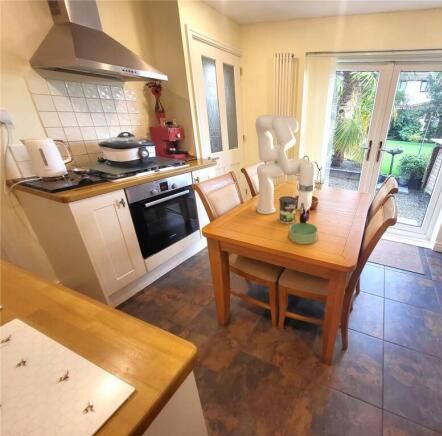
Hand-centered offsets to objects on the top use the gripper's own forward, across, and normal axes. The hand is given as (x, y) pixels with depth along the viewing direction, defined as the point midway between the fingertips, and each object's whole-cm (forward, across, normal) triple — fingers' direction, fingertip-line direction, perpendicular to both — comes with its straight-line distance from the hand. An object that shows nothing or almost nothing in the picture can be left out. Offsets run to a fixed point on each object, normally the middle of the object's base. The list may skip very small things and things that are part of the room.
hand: (304, 220), depth 123 cm
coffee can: (+11, -17, -16) cm, 26 cm away
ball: (-2, 0, 0) cm, 2 cm away
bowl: (+11, 0, 0) cm, 11 cm away
